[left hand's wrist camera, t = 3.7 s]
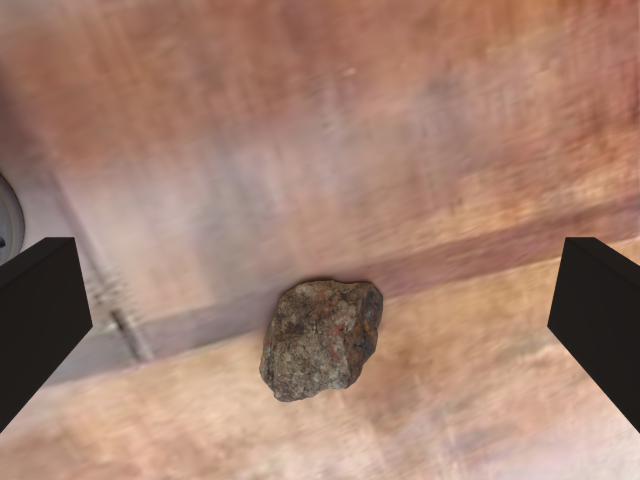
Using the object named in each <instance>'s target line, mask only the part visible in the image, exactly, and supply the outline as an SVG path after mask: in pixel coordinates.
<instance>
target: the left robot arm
mask: <svg viewBox="0 0 640 480" xmlns="http://www.w3.org/2000/svg"><path fill="white" fill-rule="evenodd" d="M23 237H24V222H23V216H22V212H21V208H20V206H19V203H18V201H17V199H16V197H15V195H14V193H13V191H12V189H11V188H10V186H9V185H8V184H7V182H6V181H5V180H4V178H3V177H2V176H1V175H0V433H1V432H2V431H3V430H4V429H5V428H6V426H7V425H8V424H9V423H10V422H11V421H12V419H13V418H14V417H15V416H16V415H17V414H18V413H19V411H20V410H21V409H22V408H23V407H24V406H25V404H26V403H27V402H28V401H29V400H30V399H31V397H32V396H33V395H34V394H35V393H36V392H37V391H38V389H39V388H40V387H41V386H42V385H43V384H44V382H45V381H46V380H47V379H48V378H49V377H50V376H51V374H52V373H53V372H54V371H55V370H56V369H57V367H58V366H59V365H60V364H61V363H62V362H63V360H64V359H65V358H66V357H67V356H68V355H69V354H70V352H71V351H72V350H73V349H74V348H75V347H76V345H77V344H78V343H79V342H80V341H81V340H82V339H83V337H84V336H85V335H86V334H87V333H88V332H89V330H90V329H91V328H92V327H93V325H92V320H91V315H90V310H89V305H88V301H87V296H86V291H85V286H84V281H83V277H82V272H81V267H80V262H79V257H78V253H77V248H76V243H75V238H74V237H45V238H44V239H42V240H41V241H39V242H37V243H36V244H34V245H33V246H31V247H30V248H28V249H26V250H25V251H23V252H22V253H20V254H19V251H20V249H21V246H22V243H23ZM547 327H548V328H549V329H550V330H551V332H552V333H553V334H554V335H555V336H556V337H557V339H558V340H559V341H560V342H561V343H562V344H563V345H564V347H565V348H566V349H567V350H568V351H569V352H570V354H571V355H572V356H573V357H574V358H575V359H576V360H577V362H578V363H579V364H580V365H581V366H582V367H583V369H584V370H585V371H586V372H587V373H588V374H589V376H590V377H591V378H592V379H593V380H594V381H595V382H596V384H597V385H598V386H599V387H600V388H601V389H602V391H603V392H604V393H605V394H606V395H607V396H608V397H609V399H610V400H611V401H612V402H613V403H614V404H615V406H616V407H617V408H618V409H619V410H620V411H621V413H622V414H623V415H624V416H625V417H626V418H627V419H628V421H629V422H630V423H631V424H632V425H633V426H634V428H635V429H636V430H637V431H638V432H639V433H640V266H639V265H637V264H636V263H634V262H633V261H631V260H629V259H628V258H626V257H625V256H623V255H622V254H620V253H618V252H617V251H615V250H614V249H612V248H610V247H609V246H607V245H606V244H604V243H603V242H601V241H599V240H598V239H596V238H595V237H566V238H565V243H564V248H563V253H562V257H561V262H560V267H559V272H558V277H557V281H556V286H555V291H554V296H553V301H552V305H551V310H550V315H549V320H548V325H547Z"/></svg>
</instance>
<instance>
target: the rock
mask: <svg viewBox="0 0 640 480" xmlns="http://www.w3.org/2000/svg"><path fill="white" fill-rule="evenodd" d="M382 310H383V297H382V295H381V294H380V292H379V291H378V290H377V289H376V288H375V287H374V285H373V284H370V283H368V282H366V283H353V284H343V283H340V282H335V281H334V280H331V281H314V282H307V283H303V284H299V285H298V286H296V287H294V289H291V290H288V291H287V292H286V293H285V294H284V295H282V296H281V298H280V299H279V302H278V304H277V308H276V311H275V316H274V318H273V319H272V321H271V324H270V326H269V327H268V331H267V334H266V336H265V338H264V340H263V344H264V346H263V355H262V358H261V364H260V367H259V370H260V374H261V377H262V379H263V380H264V382H265V383H266V384H267V385H268V386H269V387H270V389H271V390H272V391H273V392H274V397H275V398H276V399H277V400H279V401H280V402H292V401H296V400H303V399H304V398H307V397H313V396H315V395H316V394H318V393H319V392H320V391H322V390H325V389H346V388H348V387H349V386H350V385H351V384H353V383H355V382H356V380H357V378H358V377H359V376H360V374H361V371H362V367H363V365H364V363H365V362H366V361H367V360H368V358H369V357H370V356H371V355H372V354H373V353H374V352H375V349H376V344H377V339H378V333H377V328H378V326H379V324H380V322H381V315H382Z"/></svg>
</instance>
